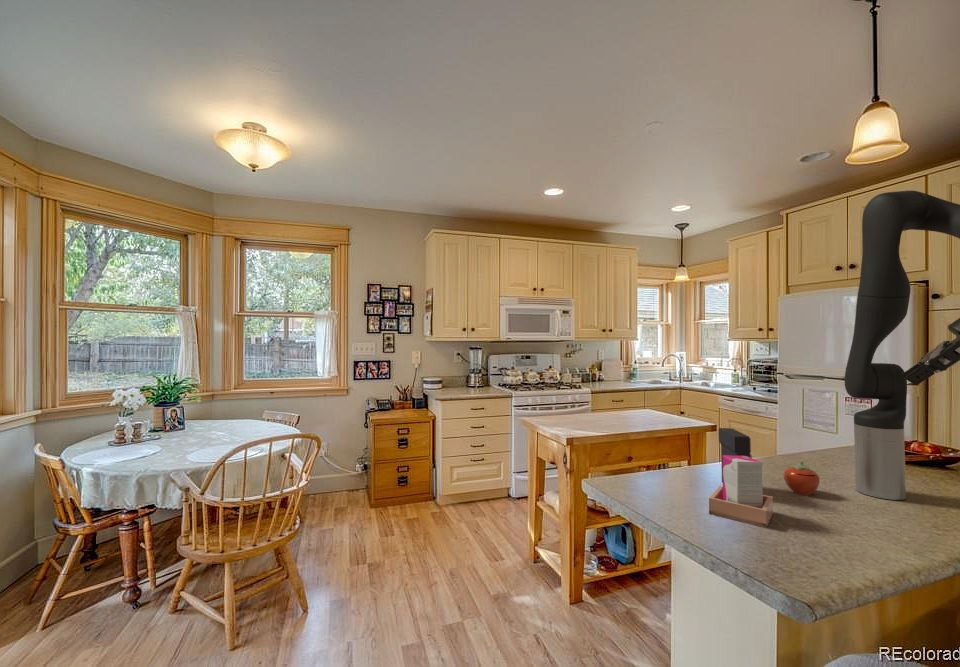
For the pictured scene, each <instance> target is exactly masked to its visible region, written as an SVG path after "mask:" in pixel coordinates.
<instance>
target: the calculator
mask: <svg viewBox="0 0 960 667" xmlns="http://www.w3.org/2000/svg"><path fill="white" fill-rule="evenodd" d="M718 442H719V443H720V446H721V448H720V449H721V450H720V453H721V457H720V458H721V483H722V484H723V455H729V456H748V457H750V458H753V456H752V454H751V453H752V440H751V437H750V435H749V436H748V435H747V434H745V433H743V432H740V431H739V430H736V429H735V428H728V427H719V428H718Z"/></svg>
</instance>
